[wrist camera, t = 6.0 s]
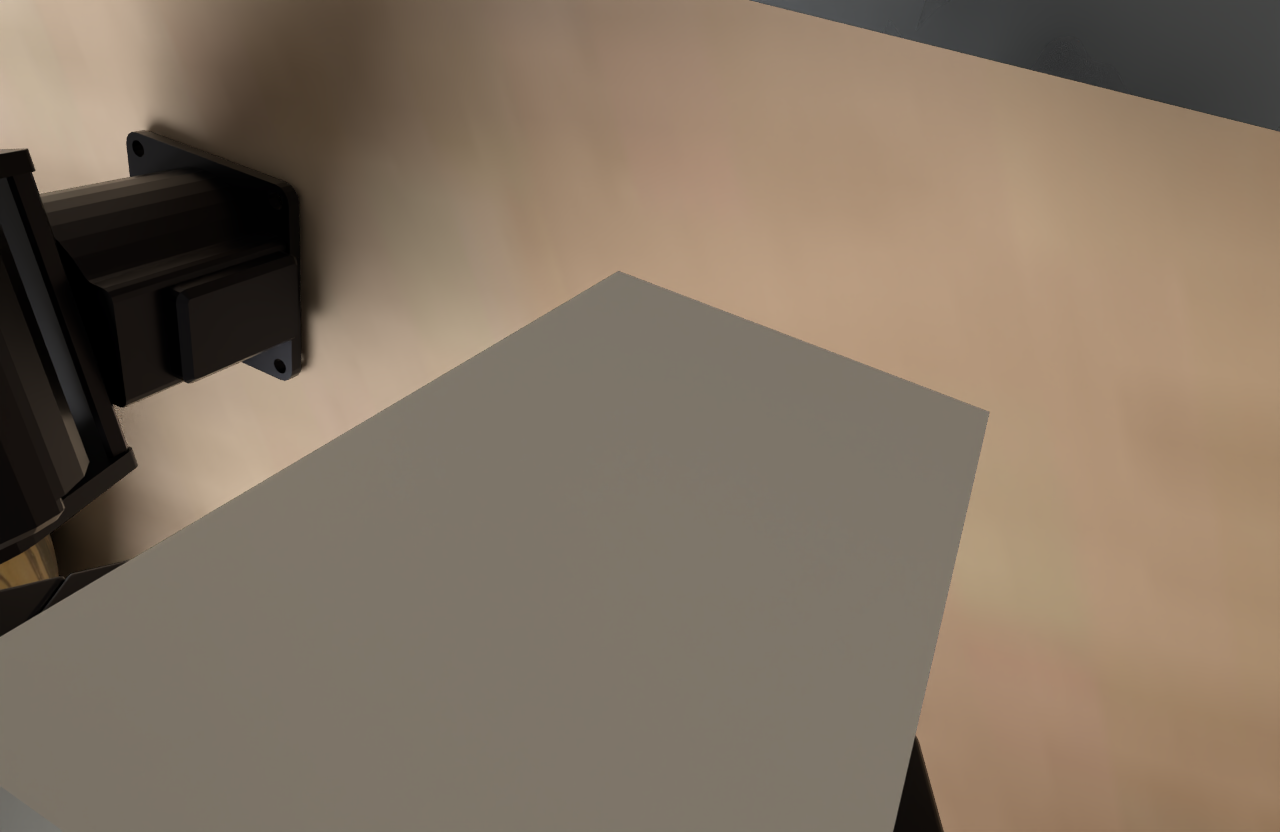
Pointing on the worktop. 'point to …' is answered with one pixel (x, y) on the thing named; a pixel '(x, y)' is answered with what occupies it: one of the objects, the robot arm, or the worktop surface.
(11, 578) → the ceramic bowl
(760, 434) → the white rectangular block
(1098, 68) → the jig plate
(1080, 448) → the worktop surface
